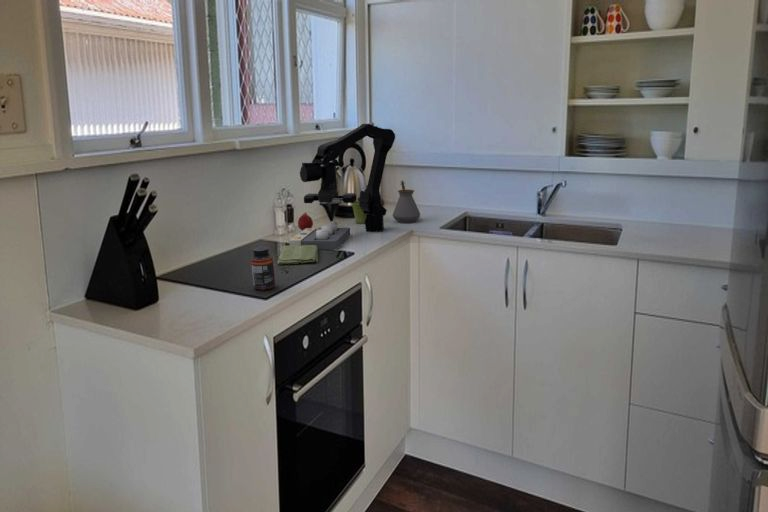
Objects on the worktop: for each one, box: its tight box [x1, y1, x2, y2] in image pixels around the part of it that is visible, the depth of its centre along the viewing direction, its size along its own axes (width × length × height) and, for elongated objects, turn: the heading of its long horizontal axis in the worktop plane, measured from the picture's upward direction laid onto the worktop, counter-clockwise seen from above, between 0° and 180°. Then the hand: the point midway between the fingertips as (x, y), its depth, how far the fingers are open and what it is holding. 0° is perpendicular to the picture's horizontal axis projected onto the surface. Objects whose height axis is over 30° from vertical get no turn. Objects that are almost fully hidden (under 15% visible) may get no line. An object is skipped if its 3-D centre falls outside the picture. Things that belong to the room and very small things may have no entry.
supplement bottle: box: [250, 246, 276, 291], centre depth 166 cm, size 6×6×11 cm
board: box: [302, 227, 351, 250], centre depth 217 cm, size 12×22×3 cm, turn 170°
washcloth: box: [277, 245, 319, 266], centre depth 197 cm, size 13×18×3 cm
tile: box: [288, 227, 317, 246], centre depth 219 cm, size 4×20×3 cm, turn 170°
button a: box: [325, 220, 338, 231], centre depth 223 cm, size 4×4×4 cm
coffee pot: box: [392, 180, 421, 224], centre depth 252 cm, size 21×12×15 cm, turn 3°
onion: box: [297, 212, 314, 232], centre depth 234 cm, size 6×6×8 cm
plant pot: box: [350, 200, 367, 225], centre depth 249 cm, size 9×9×9 cm
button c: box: [316, 229, 328, 240], centre depth 210 cm, size 4×4×4 cm
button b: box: [320, 224, 333, 236], centre depth 217 cm, size 4×4×4 cm
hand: (331, 221), depth 223 cm, fingers closed
